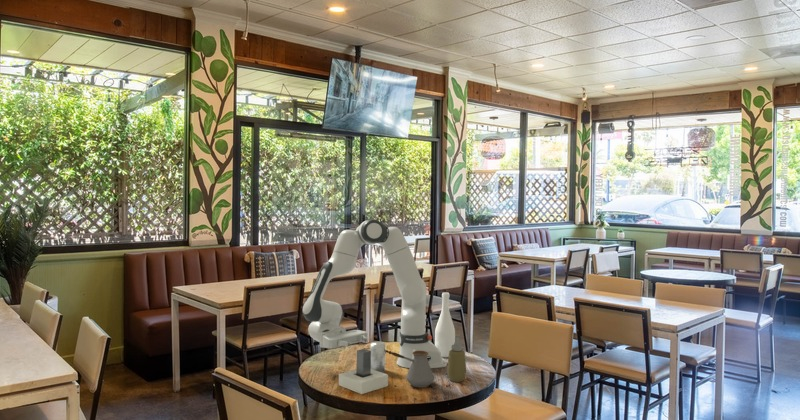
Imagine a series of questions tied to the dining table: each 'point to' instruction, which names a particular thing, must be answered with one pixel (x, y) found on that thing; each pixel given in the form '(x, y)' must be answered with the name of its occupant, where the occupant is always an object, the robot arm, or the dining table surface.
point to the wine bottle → (445, 328)
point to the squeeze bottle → (456, 362)
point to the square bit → (363, 363)
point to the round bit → (377, 356)
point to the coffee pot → (418, 369)
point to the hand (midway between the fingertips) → (357, 342)
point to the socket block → (363, 381)
